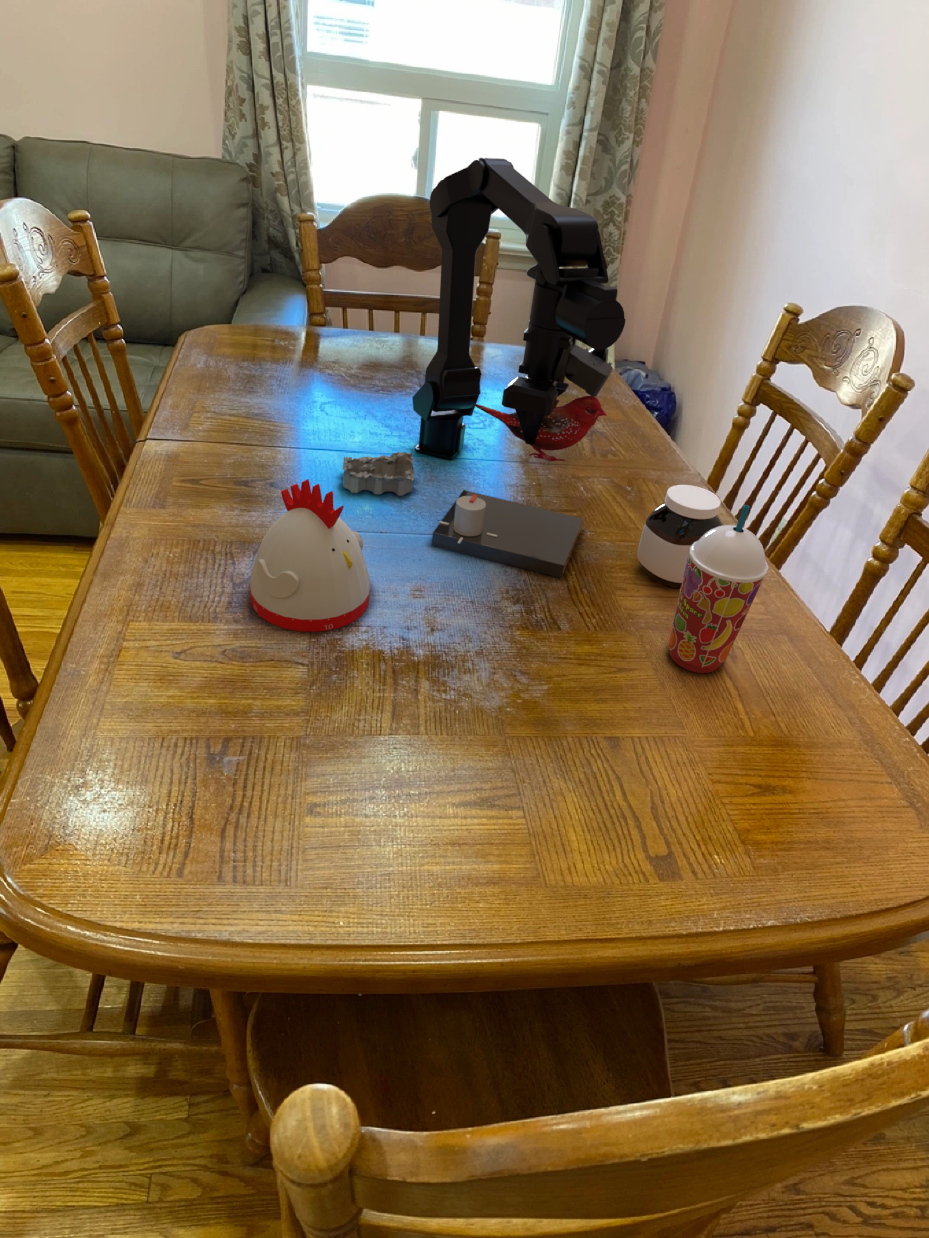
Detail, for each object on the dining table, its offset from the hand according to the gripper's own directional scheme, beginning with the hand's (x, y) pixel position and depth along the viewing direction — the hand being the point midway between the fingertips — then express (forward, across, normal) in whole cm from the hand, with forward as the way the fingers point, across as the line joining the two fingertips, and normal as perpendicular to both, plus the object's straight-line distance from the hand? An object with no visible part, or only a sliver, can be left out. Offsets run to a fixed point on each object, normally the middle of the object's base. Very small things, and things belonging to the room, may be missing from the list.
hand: (532, 440), depth 112 cm
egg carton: (+12, 0, +22) cm, 25 cm away
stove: (+12, -6, 0) cm, 14 cm away
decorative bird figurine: (+3, 0, 0) cm, 3 cm away
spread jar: (+12, -3, -22) cm, 25 cm away
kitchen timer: (+12, -31, +18) cm, 38 cm away
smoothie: (+12, -23, -27) cm, 38 cm away
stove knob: (+10, -10, +5) cm, 15 cm away
